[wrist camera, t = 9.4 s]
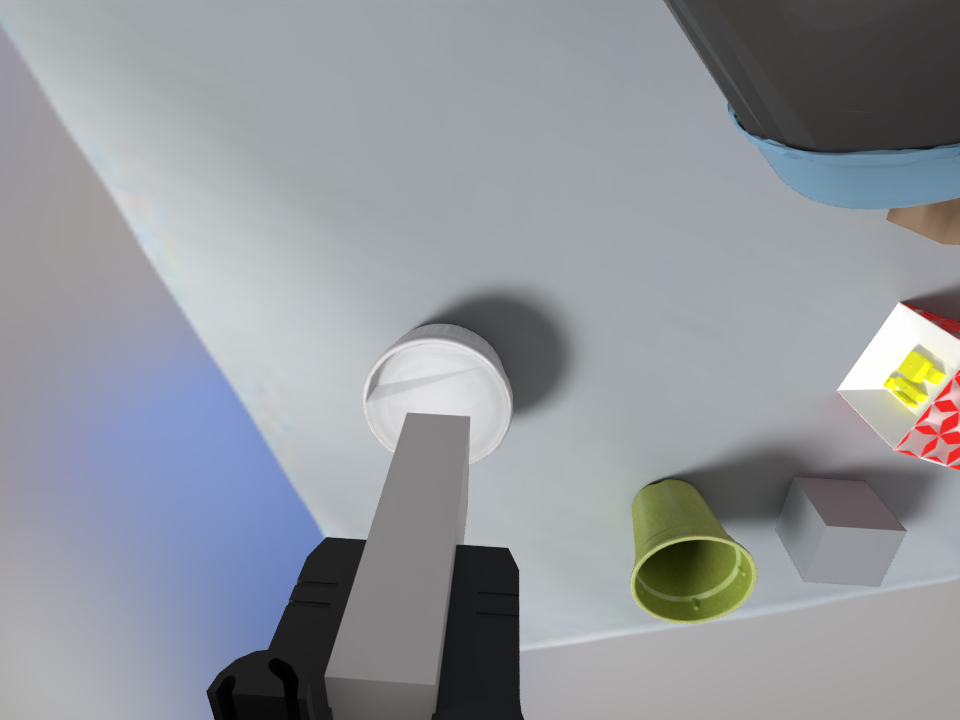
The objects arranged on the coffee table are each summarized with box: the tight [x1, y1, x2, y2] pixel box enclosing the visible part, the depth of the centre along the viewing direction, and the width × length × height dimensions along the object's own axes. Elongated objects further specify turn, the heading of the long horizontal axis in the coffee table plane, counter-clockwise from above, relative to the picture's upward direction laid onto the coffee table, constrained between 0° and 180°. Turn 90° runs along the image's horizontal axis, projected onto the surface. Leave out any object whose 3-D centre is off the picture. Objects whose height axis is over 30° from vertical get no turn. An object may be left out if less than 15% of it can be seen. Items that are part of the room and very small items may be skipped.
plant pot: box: [631, 479, 757, 624], centre depth 48 cm, size 9×9×9 cm
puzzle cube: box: [837, 302, 960, 471], centre depth 40 cm, size 8×8×8 cm
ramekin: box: [363, 324, 513, 465], centre depth 44 cm, size 11×11×5 cm
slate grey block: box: [775, 477, 907, 587], centre depth 48 cm, size 6×6×6 cm
